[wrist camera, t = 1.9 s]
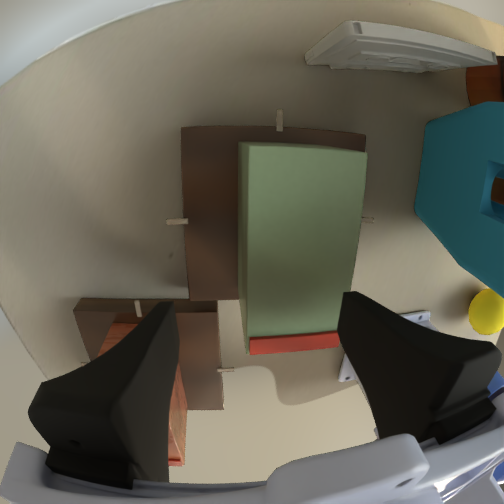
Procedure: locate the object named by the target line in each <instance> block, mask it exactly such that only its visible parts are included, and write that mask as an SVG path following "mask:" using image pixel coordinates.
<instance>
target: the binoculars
mask: <svg viewBox="0 0 504 504" xmlns="http://www.w3.org/2000/svg"><path fill="white" fill-rule="evenodd" d="M496 59H497V65H486V66H475V67H467V72H466V85H467V93H468V97H469V101H470V104H471V106H474V105H477V104H480V103H484V102H488V101H489V102H504V56H496ZM491 200H492V201H495V202H497V203H500V204H502V205H504V179H502V178H499V177H496V176H495V178H494V181H493V184H492V189H491Z"/></svg>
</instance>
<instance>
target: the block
mask: <svg viewBox="0 0 504 504" xmlns="http://www.w3.org/2000/svg"><path fill="white" fill-rule="evenodd" d="M495 176H496V177H499V178H502V179H504V102H489V101H488V102H484V103H480V104H477V105H474V106H471V107H469V108H466V109H463V110H460V111H457V112H454V113H451V114H448V115H446V116H443V117H440V118H437V119H434V120H432V121H429V122H428V123H427V124H426V127H425V134H424V144H423V153H422V160H421V168H420V175H419V181H418V187H417V193H416V199H415V204H414V210H415V213H416V214H417V216H418V217H419V218H420V219H421V220H422V221H423V222H424V223H425V224H426V226H427V227H428V228H429V229H430V230H431V231H432V232H433V234H434V235H435V236H436V237H437V238H438V240H439V241H440V242H441V243H442V244H443V246H444V247H445V248H446V249H447V250H448V252H449V253H450V254H451V255H452V257H453V258H454V259H455V260H456V262H457V263H458V264H459V265H460V266H461V267H462V268H464V269H465V270H467V271H468V272H469V273H471V274H472V275H473V276H475V277H476V278H478V279H479V280H480V281H482V282H483V283H484V284H486V285H487V286H488V287H489V288H491V289H492V290H493V291H495V292H496V293H497V294H498V295H500V296H501V297H502V298H504V205H502V204H500V203H497V202H495V201H492V200H491V189H492V184H493V181H494V178H495Z"/></svg>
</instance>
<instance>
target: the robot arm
mask: <svg viewBox="0 0 504 504" xmlns="http://www.w3.org/2000/svg"><path fill="white" fill-rule="evenodd" d="M419 316H420V317H419ZM430 316H431V313H430V312H429V311H421V312H415V313H409V314H402V315H398V314H396V313H395V312H393V311H391V310H389V309H387V308H386V307H384V306H382V305H381V304H379V303H377V302H375V301H374V300H372V299H370V298H368V297H367V296H365V295H363V294H361V293H359V292H357V291H351V292H343V297H342V303H341V309H340V315H339V320H338V325H337V333H338V336H339V339H340V342H341V344H342V347H343V349H344V351H345V354H344V358H343V362H342V365H341V369H340V372H339V376H338V380H339V381H340V382H344V381H350V380H357V382H358V384H359V386H360V388H361V389H362V392H363V394H364V396H365V398H366V400H367V402H368V404H369V406H370V408H371V410H372V413H373V417H374V420H375V423H376V428H375V429H374V432H375V434H376V436H377V439H376V440H375V441H373V442H370V443H366V444H363V445H359V446H355V447H351V448H347V449H342V450H338V451H333V452H329V453H324V454H318V455H313V456H309V457H305V458H301V459H298V460H293V461H291V462H289V463H286V464H284V465H282V466H280V467H278V468H276V469H275V470H274V472H273V473H272V474H271V475H270V477H269V478H268V479H267V481H258V482H246V483H225V484H189V483H169V468H168V467H169V465H168V434H169V411H170V403H171V397H172V392H173V386H174V381H175V376H176V371H177V366H178V360H179V346H180V338H179V332H178V326H177V320H176V314H175V307H174V301H159V302H158V303H157V304H156V306H155V307H154V308H153V309H152V310H151V311H150V312H149V313H148V314H147V315H146V316H145V317H144V318H143V320H142V321H141V322H140V323H139V324H138V325H137V326H136V327H135V328H134V329H133V330H132V331H130V332H129V333H128V334H127V335H126V336H125V337H124V338H123V339H122V340H121V341H119V342H118V343H117V344H116V345H115V346H113V347H112V348H110V349H109V350H108V351H106V352H105V353H104V354H102V355H100V356H99V357H97V358H96V359H94V360H92V361H91V362H89V363H87V364H86V365H84V366H82V367H80V368H78V369H76V370H74V371H71V372H69V373H67V374H65V375H62V376H59V377H57V378H54V379H51V380H48V381H45V382H42V383H41V385H40V387H39V389H38V391H37V393H36V395H35V397H34V399H33V401H32V403H31V405H30V407H29V409H28V415H29V418H30V421H31V422H32V424H33V425H34V427H35V428H36V430H37V431H38V432H39V433H40V434H41V436H42V437H43V438H44V440H45V441H46V442H47V443H48V444H49V445H50V450H49V453H48V454H47V453H46V452H45V451H43V450H41V449H39V448H35V447H33V446H30V445H27V444H24V443H21V442H16V445H15V447H14V450H13V452H12V454H11V457H10V460H9V462H8V465H7V468H6V471H5V474H4V476H3V479H2V482H1V485H0V496H1V497H2V498H4V499H5V500H6V501H8V502H9V503H11V504H504V493H503V491H502V489H501V488H500V486H499V484H498V483H497V481H496V480H495V478H494V477H493V472H494V470H495V468H496V467H497V466H498V465H499V464H501V463H502V462H503V461H504V393H502V394H500V395H499V396H497V397H496V398H495V399H494V400H493V401H492V402H491V401H490V399H489V398H488V397H489V396H490V394H491V392H490V391H489V389H488V388H487V387H488V385H489V383H490V382H491V380H492V379H493V377H494V375H495V373H496V372H497V370H498V368H499V366H500V363H501V357H502V354H501V352H500V350H499V349H498V348H497V347H496V346H495V345H494V344H493V343H492V342H490V341H480V340H471V339H466V338H461V337H456V336H452V335H448V334H444V333H441V332H439V331H438V330H437V329H436V327H435V326H434V325H433V324H432V323H431V322H430V321H429V319H430Z"/></svg>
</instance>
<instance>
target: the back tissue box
mask: <svg viewBox="0 0 504 504" xmlns="http://www.w3.org/2000/svg"><path fill="white" fill-rule="evenodd" d="M137 325H138V324H126V323H112V325H111V327H110V329H109V332H108V334H107V336H106V338H105V340H104V342H103V345H102V347H101V349H100V351H99V354H98V356H97V357H99V356H100V355H102V354H104V353H105V352H106V351H108V350H109V349H110V348H112V347H113V346H115V345H116V344H117V343H118V342H119V341H121V340H122V339H123V338H124V337H125V336H126V335H127V334H128V333H129V332H130V331H132V330H133V329H134V328H135V327H136V326H137ZM186 420H187V401H186V396H185V391H184V386H183V381H182V376H181V371H180V366H179V360H178V366H177V371H176V376H175V381H174V386H173V392H172V397H171V403H170V411H169V434H168V465H169V466H182V465H184V461H185V437H186Z"/></svg>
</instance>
